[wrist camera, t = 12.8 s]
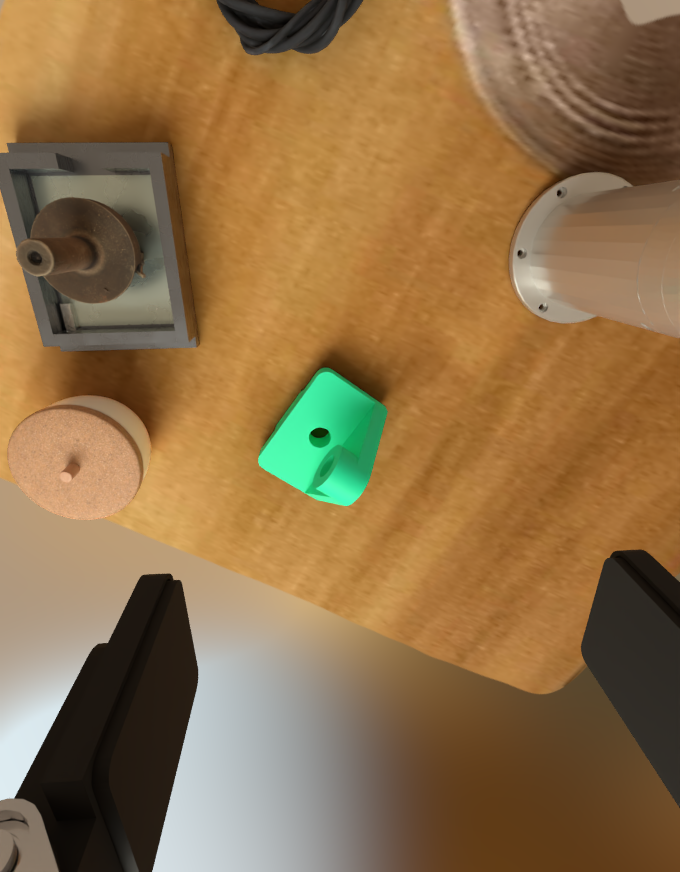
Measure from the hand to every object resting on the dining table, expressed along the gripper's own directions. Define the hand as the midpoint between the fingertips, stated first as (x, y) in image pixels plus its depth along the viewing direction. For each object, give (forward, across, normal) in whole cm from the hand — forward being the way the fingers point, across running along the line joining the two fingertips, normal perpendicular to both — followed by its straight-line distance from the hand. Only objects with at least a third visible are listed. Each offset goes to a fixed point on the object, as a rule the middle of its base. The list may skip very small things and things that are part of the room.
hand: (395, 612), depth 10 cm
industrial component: (+35, +17, -6) cm, 39 cm away
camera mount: (+36, +1, +11) cm, 38 cm away
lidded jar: (+36, +22, +10) cm, 44 cm away
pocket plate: (+36, +18, -6) cm, 41 cm away
